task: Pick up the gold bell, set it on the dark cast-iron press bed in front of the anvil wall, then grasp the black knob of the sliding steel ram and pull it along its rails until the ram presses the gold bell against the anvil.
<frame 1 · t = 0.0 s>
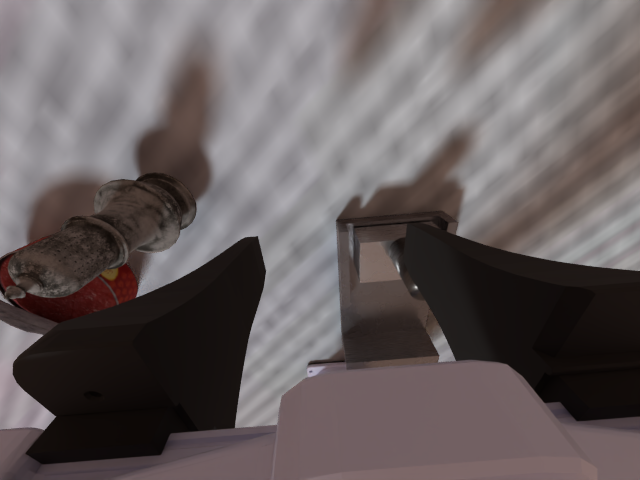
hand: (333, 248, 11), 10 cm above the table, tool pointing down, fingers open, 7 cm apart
canned food: (89, 275, 24), on the table
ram: (405, 265, 18), point 5 cm above the table, slide at 0.0 cm
press frame: (383, 289, 26), on the table
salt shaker: (166, 202, 20), on the table
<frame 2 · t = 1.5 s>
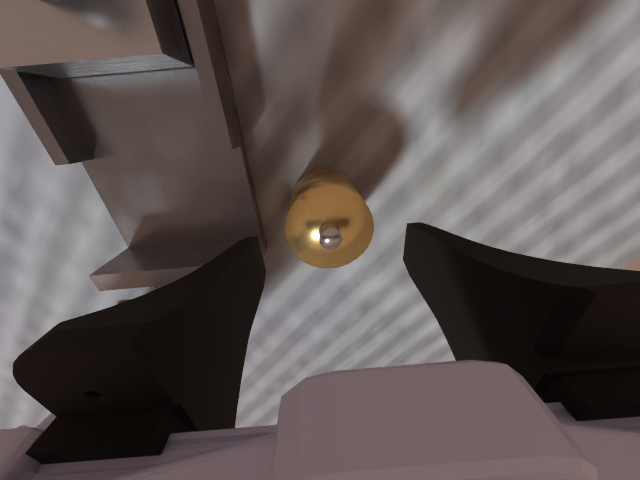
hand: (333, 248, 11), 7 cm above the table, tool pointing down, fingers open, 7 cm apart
gold bell: (324, 202, 17), on the table
press frame: (171, 159, 15), on the table
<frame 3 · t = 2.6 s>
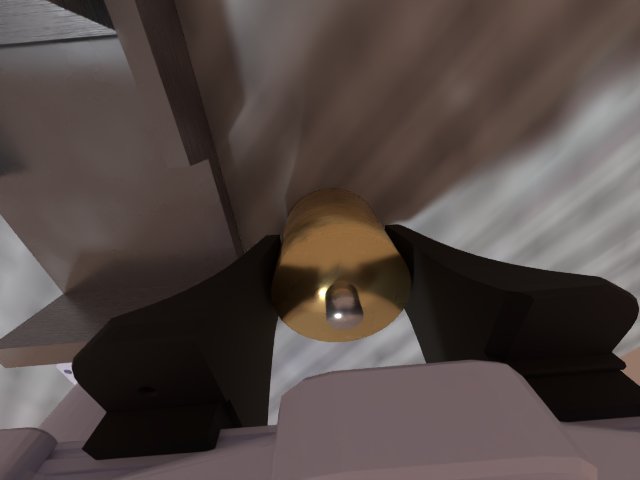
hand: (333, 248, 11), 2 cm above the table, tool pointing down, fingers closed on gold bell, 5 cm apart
gold bell: (330, 233, 13), on the table, touching gripper
press frame: (114, 175, 11), on the table
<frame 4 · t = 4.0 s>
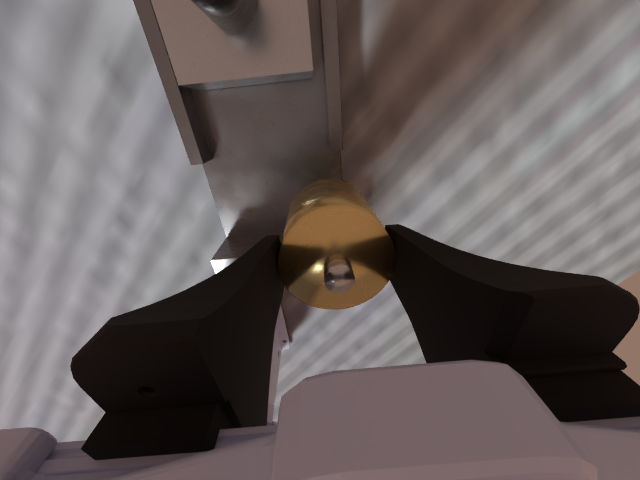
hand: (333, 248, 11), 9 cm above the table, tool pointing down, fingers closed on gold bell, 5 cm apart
gold bell: (328, 219, 14), point 5 cm above the table, touching gripper
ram: (228, 17, 10), point 5 cm above the table, slide at 0.0 cm
press frame: (273, 158, 17), on the table
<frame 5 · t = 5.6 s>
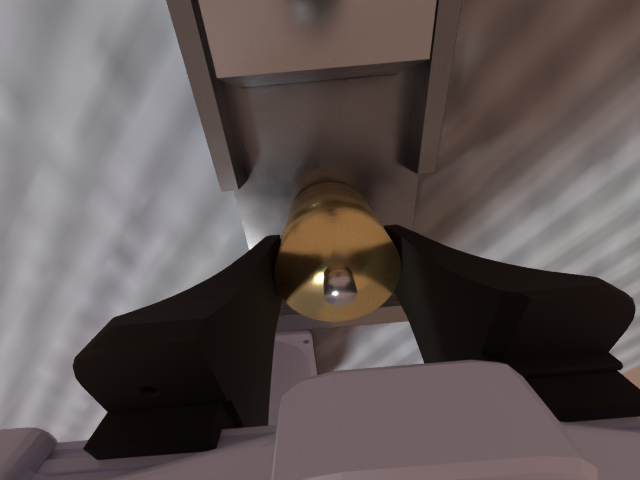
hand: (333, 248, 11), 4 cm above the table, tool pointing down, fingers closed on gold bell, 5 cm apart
gold bell: (328, 224, 13), point 1 cm above the table, touching gripper, press frame
press frame: (325, 179, 13), on the table
when the fingers open (4 cm above the table, at t = 5.8 s): gold bell stays where it is, resting on press frame.
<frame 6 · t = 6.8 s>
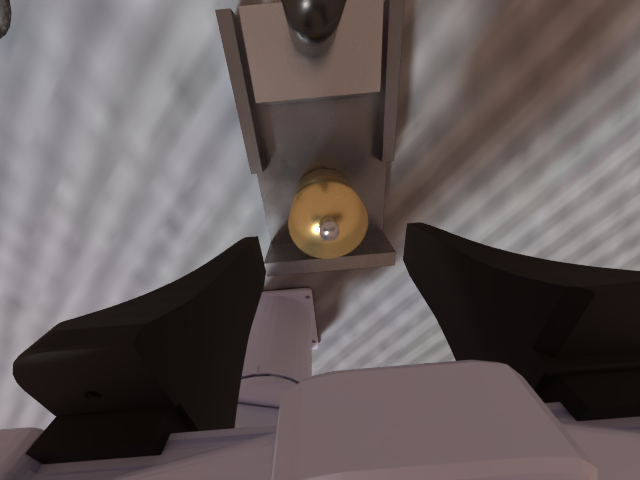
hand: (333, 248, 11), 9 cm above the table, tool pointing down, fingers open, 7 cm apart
gold bell: (324, 200, 19), point 1 cm above the table, touching press frame
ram: (314, 45, 11), point 5 cm above the table, slide at 0.0 cm
press frame: (321, 167, 19), on the table
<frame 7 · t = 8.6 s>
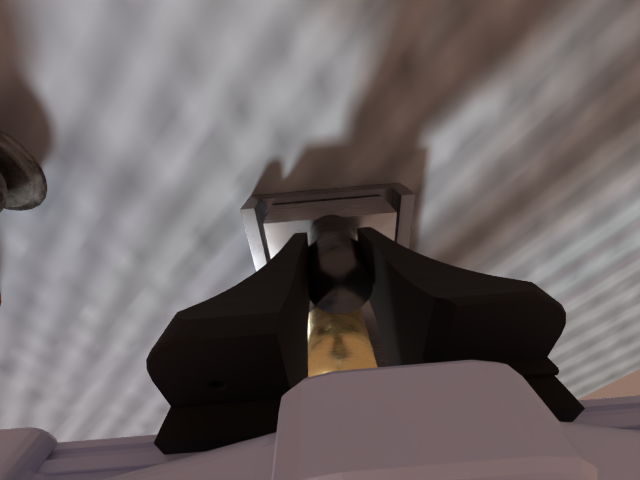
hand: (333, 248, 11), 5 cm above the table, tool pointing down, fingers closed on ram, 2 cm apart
gold bell: (334, 322, 20), point 1 cm above the table, touching press frame
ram: (333, 257, 12), point 5 cm above the table, slide at 0.0 cm, touching gripper
press frame: (332, 292, 20), on the table
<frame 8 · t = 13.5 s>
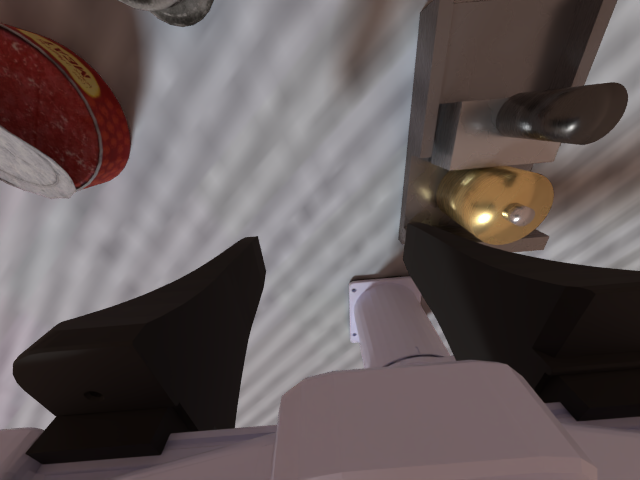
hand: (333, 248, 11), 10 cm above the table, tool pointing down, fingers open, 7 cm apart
canned food: (62, 119, 17), on the table
gold bell: (466, 189, 19), point 1 cm above the table, touching press frame
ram: (522, 132, 14), point 5 cm above the table, slide at 4.8 cm
press frame: (466, 154, 19), on the table
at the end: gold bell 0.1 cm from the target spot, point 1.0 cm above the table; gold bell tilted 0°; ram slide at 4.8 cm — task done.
